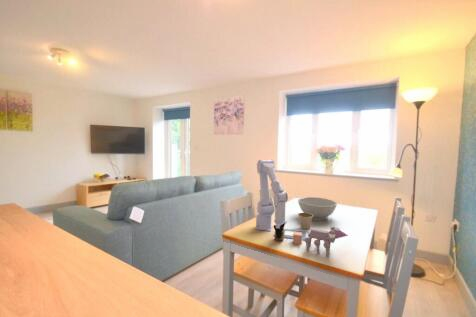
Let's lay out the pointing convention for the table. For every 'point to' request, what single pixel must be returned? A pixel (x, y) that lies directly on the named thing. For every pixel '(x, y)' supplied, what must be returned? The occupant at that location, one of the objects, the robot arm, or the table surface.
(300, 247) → the table surface
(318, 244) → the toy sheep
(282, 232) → the walnut block
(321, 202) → the decorative bowl
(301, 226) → the flower pot
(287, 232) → the board
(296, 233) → the terracotta block
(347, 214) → the table surface
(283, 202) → the robot arm
